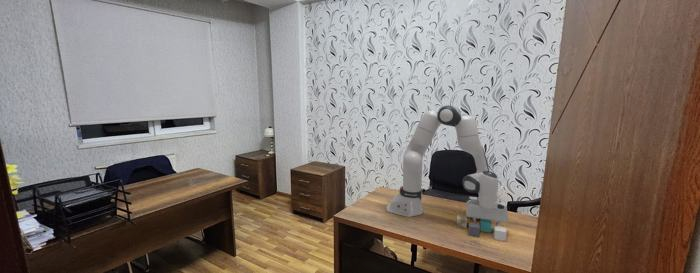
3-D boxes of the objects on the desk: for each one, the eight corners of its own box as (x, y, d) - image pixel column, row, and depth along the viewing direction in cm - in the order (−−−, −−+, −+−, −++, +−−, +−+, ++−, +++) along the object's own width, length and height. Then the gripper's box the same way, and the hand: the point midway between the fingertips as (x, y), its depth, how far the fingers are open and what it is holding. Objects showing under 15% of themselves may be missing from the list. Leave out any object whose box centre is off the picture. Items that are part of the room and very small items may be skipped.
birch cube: (456, 227, 156) (457, 218, 156) (456, 223, 161) (457, 214, 160) (466, 228, 155) (466, 220, 154) (466, 224, 159) (466, 216, 158)
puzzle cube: (489, 220, 163) (490, 204, 162) (470, 219, 165) (471, 203, 164) (484, 213, 173) (486, 197, 171) (467, 211, 175) (468, 196, 173)
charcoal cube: (468, 235, 148) (469, 226, 147) (468, 230, 152) (469, 222, 152) (479, 237, 146) (479, 228, 145) (478, 232, 151) (479, 223, 150)
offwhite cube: (494, 239, 144) (495, 230, 143) (493, 234, 148) (494, 225, 147) (505, 241, 142) (506, 232, 141) (504, 236, 146) (505, 227, 145)
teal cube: (480, 231, 152) (481, 222, 151) (480, 226, 157) (480, 218, 156) (491, 232, 150) (491, 223, 149) (490, 228, 155) (490, 219, 154)
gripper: (466, 201, 152) (464, 226, 154) (510, 207, 144) (507, 232, 147) (466, 197, 157) (464, 220, 160) (508, 202, 150) (506, 226, 153)
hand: (485, 226), depth 153 cm, fingers open, 8 cm apart
